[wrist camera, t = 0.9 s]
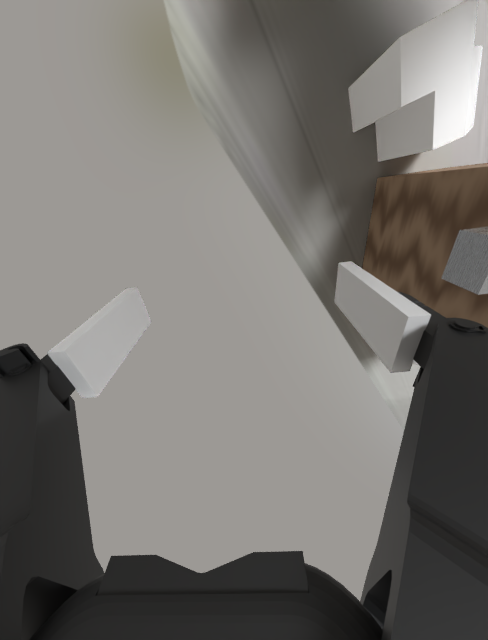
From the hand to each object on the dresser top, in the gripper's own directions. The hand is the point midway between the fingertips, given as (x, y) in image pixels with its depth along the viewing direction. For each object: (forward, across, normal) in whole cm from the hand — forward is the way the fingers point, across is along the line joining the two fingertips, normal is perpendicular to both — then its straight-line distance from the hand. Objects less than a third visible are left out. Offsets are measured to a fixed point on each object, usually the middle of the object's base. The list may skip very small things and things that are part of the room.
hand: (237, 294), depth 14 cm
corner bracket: (+31, +24, +13) cm, 42 cm away
